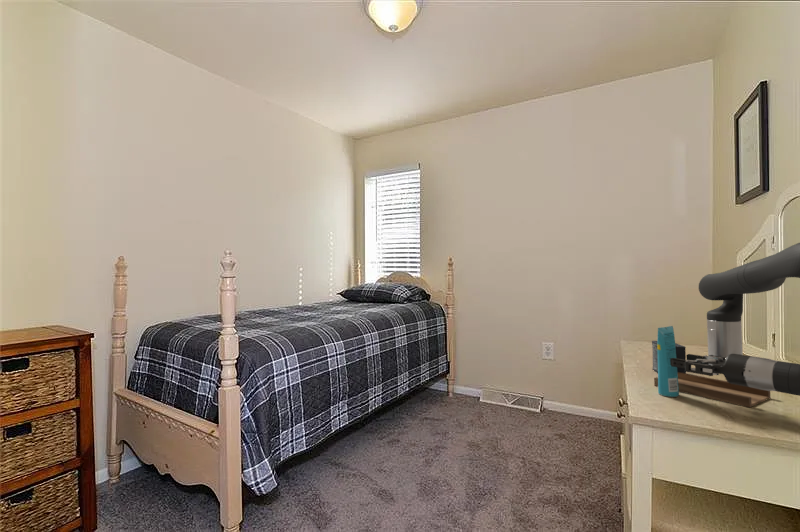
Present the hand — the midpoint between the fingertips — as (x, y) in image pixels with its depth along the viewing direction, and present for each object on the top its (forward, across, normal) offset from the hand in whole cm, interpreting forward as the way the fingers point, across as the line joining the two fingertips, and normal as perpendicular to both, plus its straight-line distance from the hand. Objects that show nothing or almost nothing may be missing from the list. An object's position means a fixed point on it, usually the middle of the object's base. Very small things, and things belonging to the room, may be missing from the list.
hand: (679, 359), depth 110 cm
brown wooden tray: (-2, -12, +10) cm, 16 cm away
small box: (+14, -23, +11) cm, 29 cm away
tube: (+3, 0, +11) cm, 11 cm away
